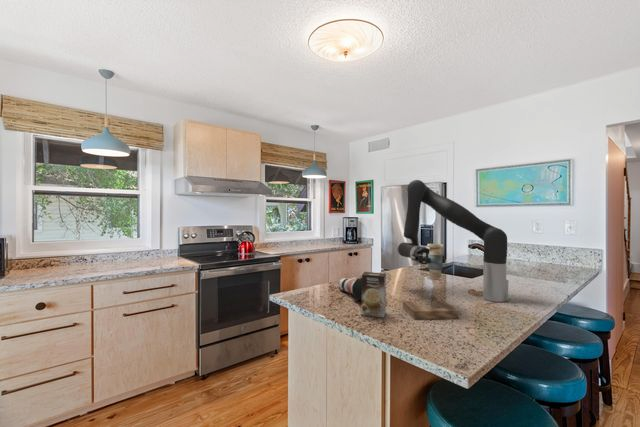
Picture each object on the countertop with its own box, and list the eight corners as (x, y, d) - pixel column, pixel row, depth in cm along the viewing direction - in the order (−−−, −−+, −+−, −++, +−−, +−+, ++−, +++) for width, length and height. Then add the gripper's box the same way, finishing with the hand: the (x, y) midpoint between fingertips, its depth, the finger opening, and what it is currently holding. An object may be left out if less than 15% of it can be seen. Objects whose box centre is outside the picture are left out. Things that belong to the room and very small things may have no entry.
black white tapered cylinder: (343, 295, 162) (350, 277, 164) (378, 307, 130) (386, 285, 133) (328, 288, 159) (335, 270, 161) (359, 298, 127) (368, 276, 130)
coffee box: (360, 315, 118) (360, 274, 118) (363, 310, 124) (363, 271, 124) (384, 317, 115) (384, 276, 115) (386, 312, 121) (386, 272, 121)
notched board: (441, 307, 128) (442, 300, 128) (457, 318, 115) (457, 310, 115) (402, 308, 126) (402, 301, 126) (414, 319, 114) (414, 311, 113)
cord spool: (439, 276, 126) (439, 243, 126) (446, 280, 120) (446, 245, 120) (424, 276, 126) (424, 243, 126) (430, 280, 120) (431, 245, 120)
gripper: (405, 246, 138) (419, 251, 121) (436, 246, 139) (454, 251, 122) (405, 262, 138) (419, 270, 121) (435, 262, 139) (454, 270, 122)
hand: (436, 260), depth 122 cm, fingers closed on cord spool, 5 cm apart
